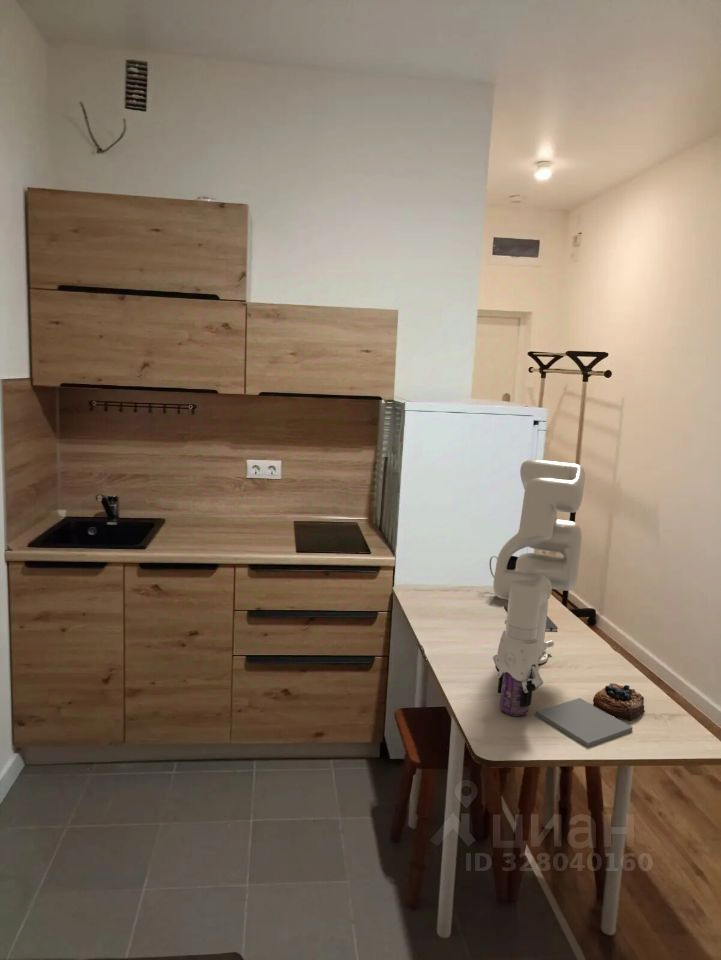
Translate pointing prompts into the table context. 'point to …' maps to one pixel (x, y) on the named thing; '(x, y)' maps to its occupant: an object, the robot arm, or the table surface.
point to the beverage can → (512, 696)
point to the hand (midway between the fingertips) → (513, 698)
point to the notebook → (549, 624)
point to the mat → (584, 722)
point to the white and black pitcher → (510, 565)
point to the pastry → (619, 701)
